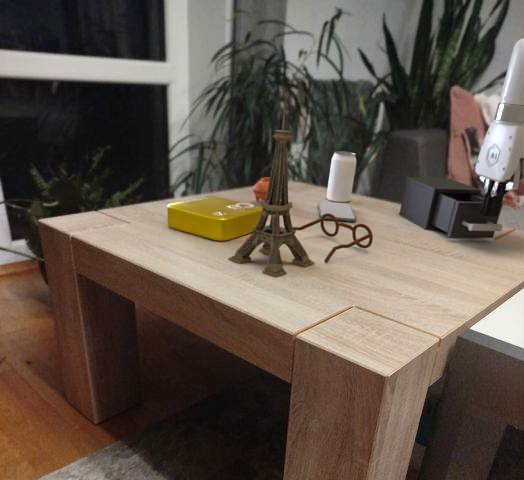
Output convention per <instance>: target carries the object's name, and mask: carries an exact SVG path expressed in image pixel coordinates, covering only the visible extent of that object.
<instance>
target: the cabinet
mask: <svg viewBox="0 0 524 480" xmlns="http://www.w3.org/2000/svg"><path fill="white" fill-rule="evenodd" d="M437 192H443V193H471V194H473V195H476V196H478V197H481V193H482V190H481V189H479V188H477V187H474V186H471V185H469V184H466V183H463V182H460V181H457V180H455V179H453V178H444V177H442V178H441V177H425V176H424V177H422V176H406V180H405V185H404V189H403V194H402V195H403V196H402V199H401V204H400V209H399V215H400V216H401V217H403V218H405V219H407V220H408V221H410V222H412V223H414V224H415V225H417V226H419V227H420V228H422V229H424V230H431V231H433V230H434V231H435V230H439V231H442V230H441V229H440V228H438V227H436V226H434V225H432V224H430V221H431V217H432V212H433V208H434V204H435V199H436V195H437Z"/></svg>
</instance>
